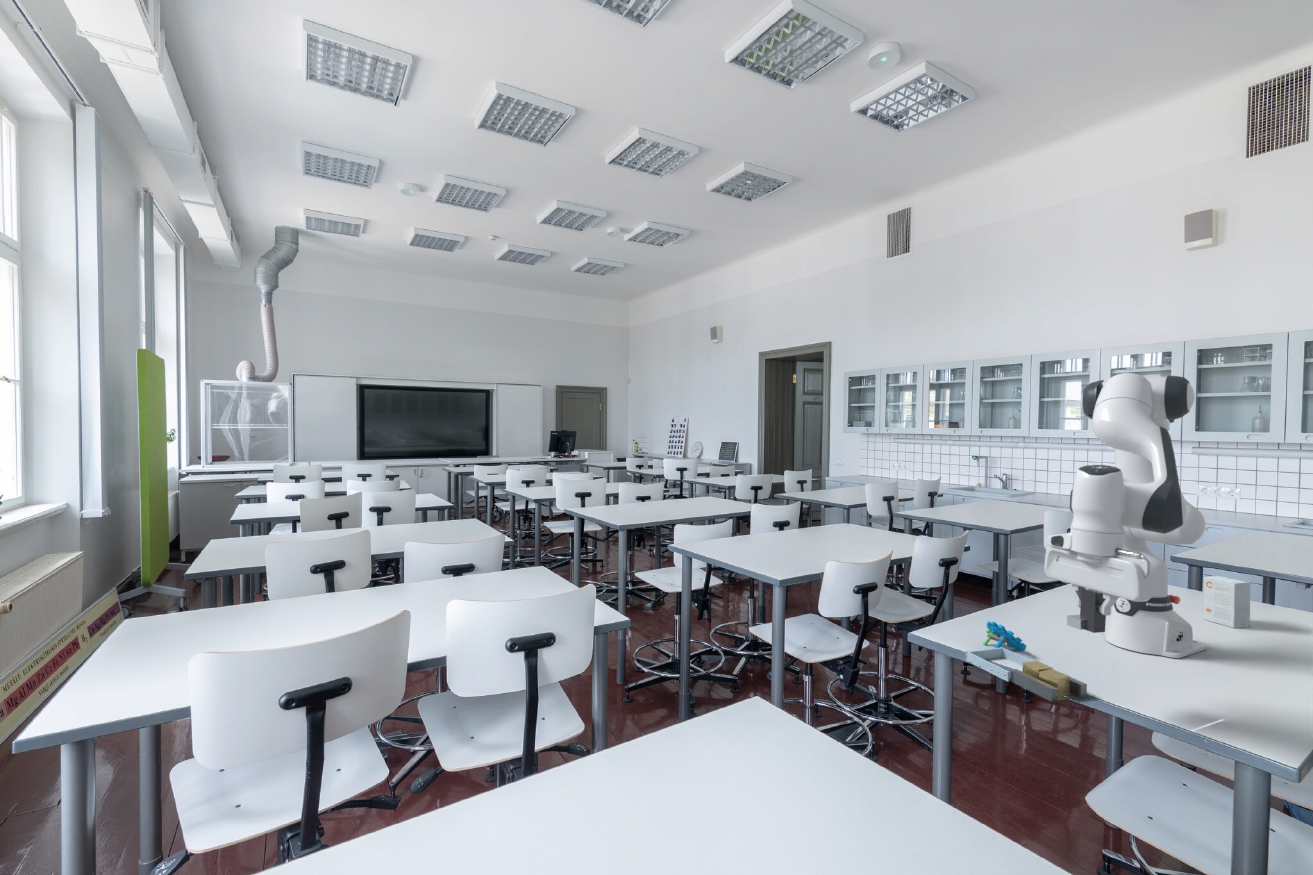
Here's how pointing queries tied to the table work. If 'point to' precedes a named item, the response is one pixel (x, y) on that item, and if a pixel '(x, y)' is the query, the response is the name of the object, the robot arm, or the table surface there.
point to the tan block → (1034, 668)
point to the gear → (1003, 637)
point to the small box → (1226, 601)
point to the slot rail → (1047, 686)
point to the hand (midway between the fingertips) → (1093, 611)
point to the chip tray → (980, 655)
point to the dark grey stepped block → (1089, 613)
